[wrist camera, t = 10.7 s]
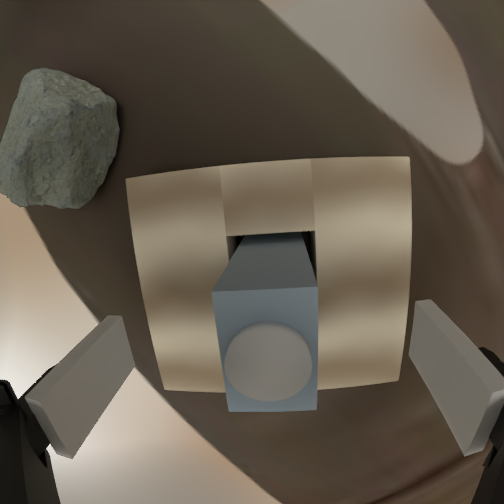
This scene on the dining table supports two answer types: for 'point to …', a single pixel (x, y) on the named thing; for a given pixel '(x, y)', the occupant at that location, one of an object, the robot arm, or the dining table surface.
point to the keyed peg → (268, 325)
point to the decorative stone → (57, 141)
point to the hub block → (278, 221)
